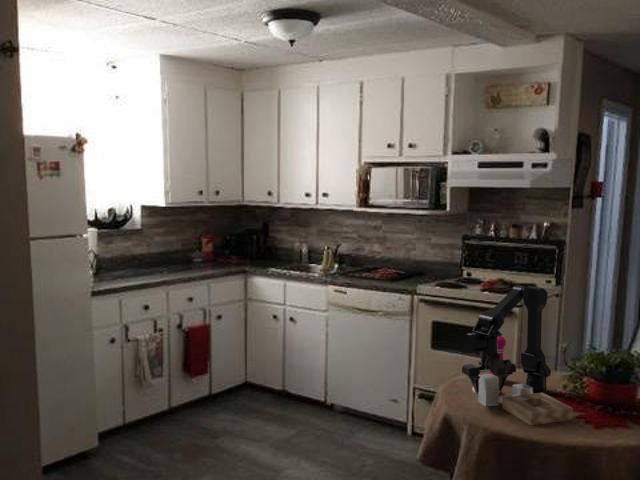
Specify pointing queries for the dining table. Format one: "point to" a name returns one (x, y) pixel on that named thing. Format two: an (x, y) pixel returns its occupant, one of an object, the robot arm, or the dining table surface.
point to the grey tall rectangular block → (488, 389)
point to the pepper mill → (500, 348)
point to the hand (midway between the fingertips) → (488, 392)
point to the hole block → (537, 408)
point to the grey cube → (521, 389)
